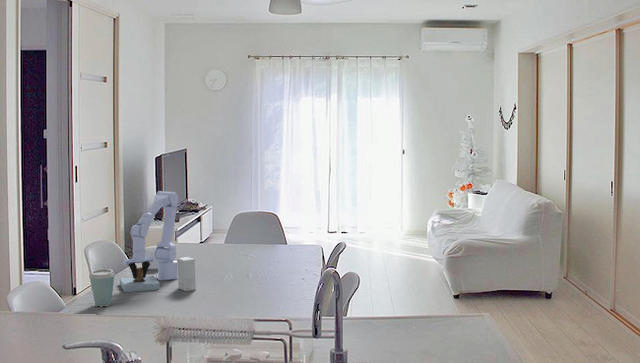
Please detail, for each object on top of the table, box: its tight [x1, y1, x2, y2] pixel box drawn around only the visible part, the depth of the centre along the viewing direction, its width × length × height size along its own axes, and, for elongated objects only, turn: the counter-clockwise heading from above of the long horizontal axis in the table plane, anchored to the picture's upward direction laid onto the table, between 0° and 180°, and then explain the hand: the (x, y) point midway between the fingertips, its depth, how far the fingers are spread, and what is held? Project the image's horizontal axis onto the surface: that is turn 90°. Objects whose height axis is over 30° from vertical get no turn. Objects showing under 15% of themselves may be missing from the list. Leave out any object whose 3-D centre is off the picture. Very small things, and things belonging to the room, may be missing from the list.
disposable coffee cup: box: [89, 268, 116, 308], centre depth 291 cm, size 11×11×15 cm
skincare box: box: [176, 256, 197, 292], centre depth 321 cm, size 8×6×15 cm
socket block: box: [119, 275, 160, 293], centre depth 325 cm, size 16×16×3 cm
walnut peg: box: [135, 266, 144, 282], centre depth 324 cm, size 4×4×7 cm
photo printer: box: [145, 245, 158, 270], centre depth 363 cm, size 10×4×12 cm, turn 98°
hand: (139, 277), depth 324 cm, fingers closed on walnut peg, 4 cm apart
